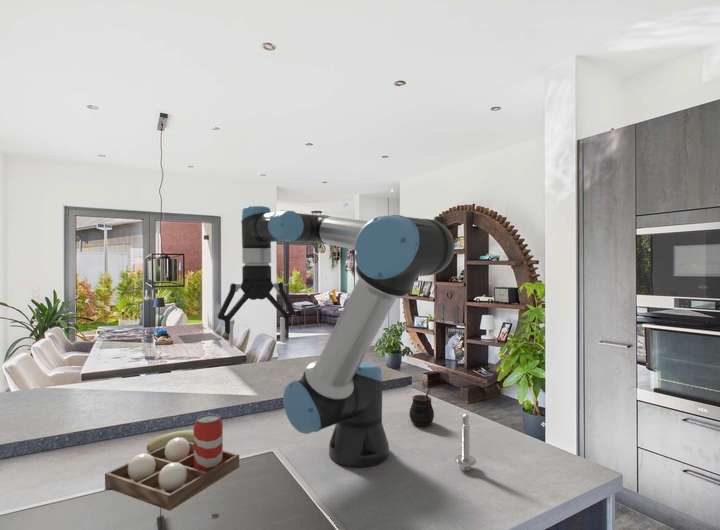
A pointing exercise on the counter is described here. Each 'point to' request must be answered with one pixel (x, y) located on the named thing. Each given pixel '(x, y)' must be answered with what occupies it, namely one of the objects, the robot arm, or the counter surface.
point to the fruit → (165, 438)
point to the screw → (465, 447)
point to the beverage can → (208, 442)
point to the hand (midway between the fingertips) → (257, 343)
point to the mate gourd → (421, 410)
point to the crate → (150, 486)
